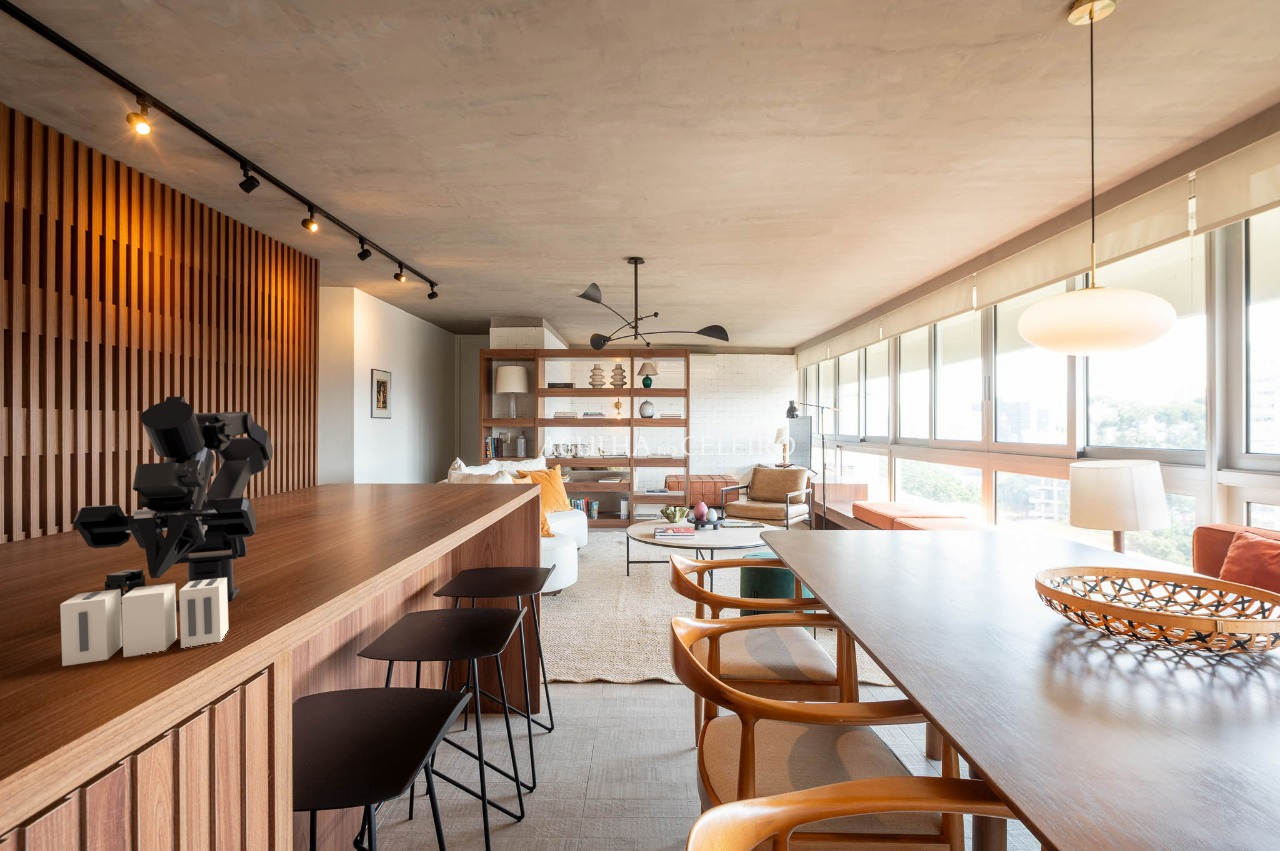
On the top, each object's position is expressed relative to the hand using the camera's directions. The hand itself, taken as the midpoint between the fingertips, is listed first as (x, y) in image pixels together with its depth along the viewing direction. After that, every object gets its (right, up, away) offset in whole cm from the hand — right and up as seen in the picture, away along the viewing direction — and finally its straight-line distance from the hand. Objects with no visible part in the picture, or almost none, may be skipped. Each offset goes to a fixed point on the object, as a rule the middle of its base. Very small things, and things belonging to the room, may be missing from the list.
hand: (154, 576), depth 77 cm
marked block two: (+6, -8, +1) cm, 10 cm away
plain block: (+1, -8, -1) cm, 8 cm away
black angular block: (-22, -10, +23) cm, 33 cm away
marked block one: (-4, -8, -4) cm, 10 cm away
